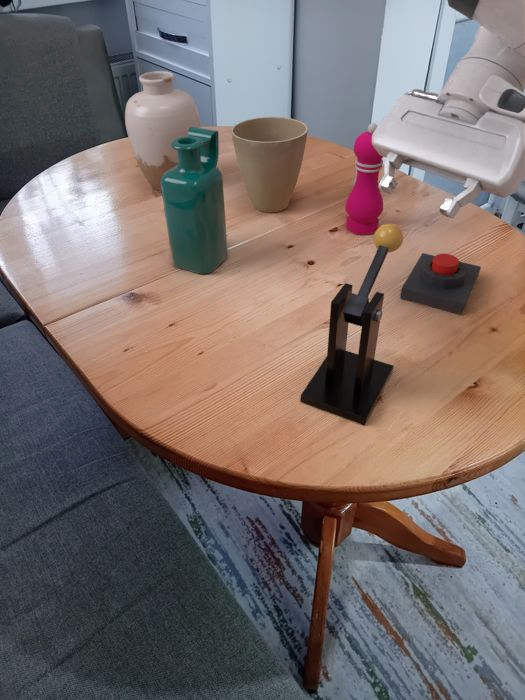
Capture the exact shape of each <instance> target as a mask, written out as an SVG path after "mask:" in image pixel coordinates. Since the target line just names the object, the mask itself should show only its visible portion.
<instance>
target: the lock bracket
mask: <svg viewBox="0 0 525 700" xmlns="http://www.w3.org/2000/svg"><path fill="white" fill-rule="evenodd" d="M353 286H354V285H353V284H350V283H347V282H346V283H344V284H343V285H342V287H340V290H339V291H338V292H337V293H336V295H335V296H334V298H333V299H332V300H331V301H330V313H329V324H328V325H329V326H328V337H327V338H328V340H327V353H326V356H325V358H324V360H323V361H322V363H321V364H320V366H319V367H318V369H317V370H316V372H315V373H314V374H313V376H312V378H311V379H310V380H309V382H308V383H307V385H306V387H305V388H304V390H303V391H302V392H301V393H300V400H299V401H300V402H301V404H305V405H308V406H309V407H312V408H316V409H318V410H321V411H324V412H327V413H329V414H331V415H335V416H338V417H340V418H343V419H345V420H349V421H351V422H355V423H357V424H359V425H362V426H366V425H367V423H368V421H369V419H370V417H371V415H372V414H373V411H374V410H375V407H376V405H377V403H378V402H379V399H380V397H381V396H382V394H383V392H384V391H385V388H386V386H387V384H388V383H389V380H390V378H391V376H392V374H393V372H394V367H395V365H394V364H391V363H386V362H384V361H381V360H377V359H375V358H376V351H377V344H378V337H379V330H380V324H381V320H382V317H383V305H384V300H385V299H384V298H385V293H384V292H380V291H376V292H375V293H374V295H372V298H370V300H369V304H368V305H367V307H366V308H365V310H364V313H363V321H362V326H361V329H360V335H359V336H360V337H359V345H358V352H357V353H356V352H352V351H349V350H347V342H348V332H349V324H350V323H348V322H345V320H344V314H343V311H344V309H345V306H346V304H347V302H348V300H349V298H350V295H351V293H353Z"/></svg>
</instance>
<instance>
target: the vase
mask: <svg viewBox="0 0 525 700" xmlns="http://www.w3.org/2000/svg"><path fill="white" fill-rule="evenodd" d="M174 80H175V74H174V73H172V72H170V71H163V70H159V71H156V70H155V71H149V72H148V71H147V72H145V73H142V74H141V75H140V76H139V77H138V81H139V82H140V83H141V86H142V90H141V91H139V92H136V93H134V94H132V95H131V97H129V98H128V100H127V101H126V105H125V110H124V123H125V129H126V134H127V136H128V141H129V144H130V147H131V149H132V153H133V156H134V158H135V160H136V163H137V165H138V166H139V168H140V171H141V172H142V174H143V177H144V178H145V179H146V181H147V183H148V184H149V186H151V188H152V189H154V190H155V191H159V192H162V190H161V178H162V176H163V174H164V173H165V172H167V171H168V170H170V169H172V168H173V167H175V166H176V165H178V156H177V150H175V149H173V148H172V147H171V145H170V144H171V142H172V141H173V140H174V139H176V138H179V137H184V136H188V130H189V128H190V127H196V128H201V120H200V114H199V109H198V106H197V103H196V102H195V99H194V98H193V97H192V95H190V94H189V93H188V92H186V91H185V90H182V89H178V88H174Z"/></svg>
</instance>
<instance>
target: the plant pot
mask: <svg viewBox="0 0 525 700" xmlns="http://www.w3.org/2000/svg"><path fill="white" fill-rule="evenodd" d="M308 131H309V127H308V125H307V124H306V123H305V122H303V121H302V120H301V121H300V120H298V119H295V118H291V117H284V116H261V117H254V118H250V119H249V118H248V119H245V120H243V121H240V122H238V123H235V124H234V125H233V126H232V128H231V132H230V133H231V137H232V142H233V147H234V151H235V156H236V160H237V164H238V168H239V172H240V174H241V177H242V181H243V184H244V187H245V189H246V192H247V194H248V196H249V199H250V201H251V203H252V205H253V207H254V208H255V209H256V210H257V211H260V212H263V213H278V212H281V211H283V210H285V209H287V208H288V206H289V204H290V201H291V199H292V196H293V194H294V192H295V188H296V186H297V181H298V179H299V175H300V172H301V168H302V164H303V160H304V154H305V149H306V144H307V138H308V137H307V136H308Z"/></svg>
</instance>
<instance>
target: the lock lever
mask: <svg viewBox="0 0 525 700" xmlns="http://www.w3.org/2000/svg"><path fill="white" fill-rule="evenodd" d="M403 241H404V234H403V231H402V229H401V228H400V227H399V226H398V225H396V224H394V223H384V224H382V225H379V226H378V229H377V230H376V232H374V235H373V243H374V245H375V247H376V249H377V250H376V252H375V254H374V256H373V259H372V260H371V264H370V266H369V268H368V270H367V272H366V274H365V276H364V278H363V281H362V283H361V286H360V288H359V290H358V292H357V293H353V292H352V293H351V295H350V298H349V300H348V302H347V304H346V306H345V309H344V311H343V314H344V320H345V322H348V323H349V324H352V325H355V326H358V327H362V321H363V313H364V310H365V308H366V307H367V305H368V304H369V302H370V297H369V296H370V294H371V291H372V290H373V287H374V285H375V283H376V280H377V278H378V276H379V273H380V271H381V269H382V266H383V264H384V263H385V260H386V258H387V255H388V253H389V254H390V253H393V252H395V251H397V250H398V249H399V248H400V247H401V246H402V244H403Z"/></svg>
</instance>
